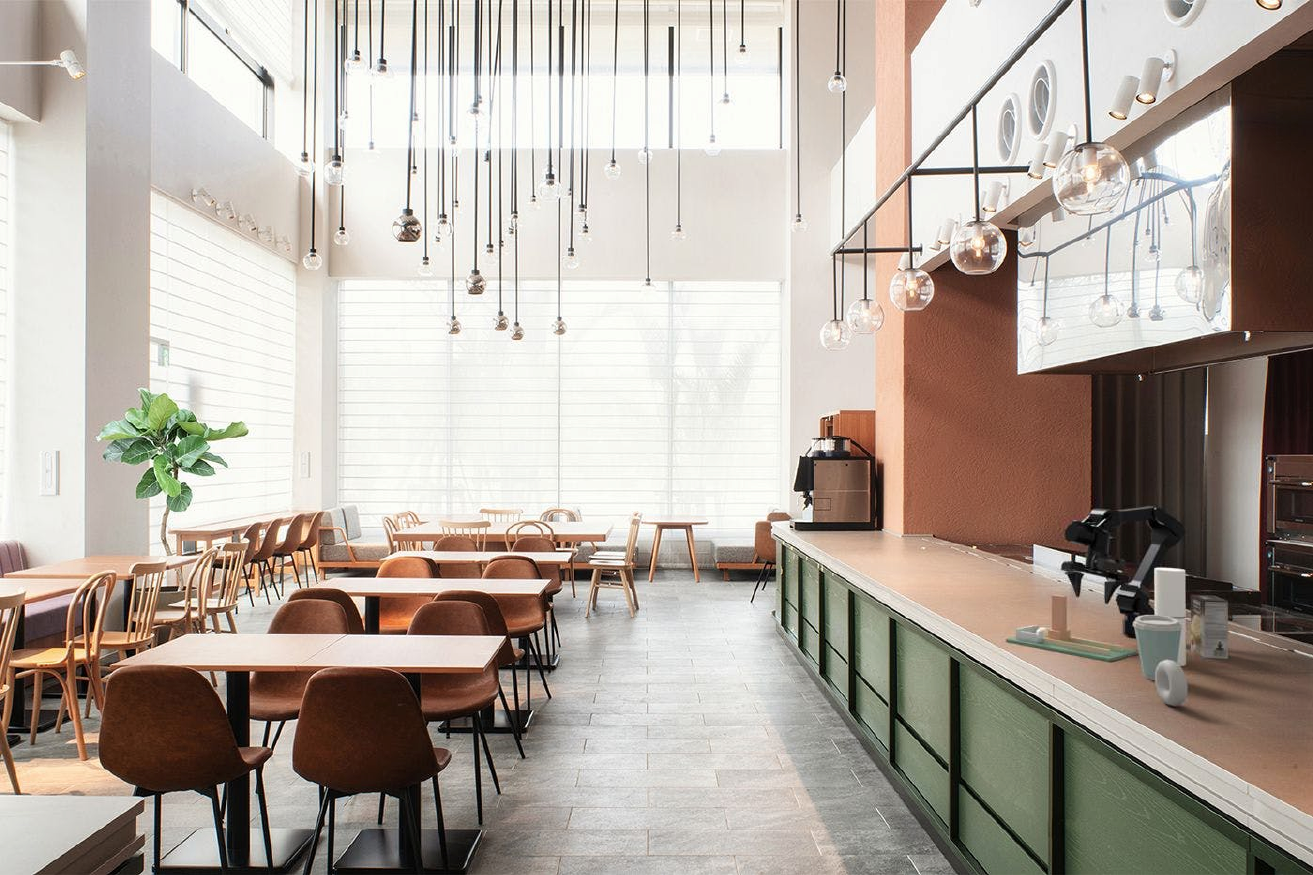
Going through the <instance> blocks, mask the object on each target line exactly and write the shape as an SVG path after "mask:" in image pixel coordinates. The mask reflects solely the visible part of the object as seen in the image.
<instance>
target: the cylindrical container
mask: <svg viewBox="0 0 1313 875" xmlns="http://www.w3.org/2000/svg"><path fill="white" fill-rule="evenodd" d="M1153 581H1154V583H1153V584H1154V610H1155V615H1159V616H1168V617H1171V618H1175V619H1176V620H1178V621H1179V624H1180V625H1182V630H1181V635H1180V643H1179V650H1178V658H1177V664H1178V665H1179V666H1180V667H1181V666H1182V667H1184V666H1187V648H1186V644H1187V642H1186V641H1187V640H1186V636H1187V632H1186V629H1187V628H1186V627H1187V626H1186V625H1187V624H1186V623H1187V622H1186V621H1187V620H1186V608H1187V607H1186V570H1185V569H1181V568H1175V567H1174V568H1173V567H1160V568H1154V580H1153Z"/></svg>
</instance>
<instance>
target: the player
mask: <svg viewBox="0 0 1313 875" xmlns="http://www.w3.org/2000/svg"><path fill="white" fill-rule="evenodd" d="M1067 602H1068V596H1067V595H1062V594H1052V595H1051V628H1050V629H1051V630H1048V638H1049V639H1055V640H1060V641H1066V642H1071V637H1072V635H1071V629H1068V618H1067V616H1068V603H1067Z"/></svg>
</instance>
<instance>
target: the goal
mask: <svg viewBox="0 0 1313 875" xmlns="http://www.w3.org/2000/svg"><path fill="white" fill-rule="evenodd" d="M1039 628H1045V629H1047V630H1051V629H1052V628H1048V627H1043V626H1039V625H1038V624H1034V625H1027V626H1022V627H1018V628H1015V637H1016V639H1018V640H1023V641H1029V642H1034V643H1038V644H1043V631H1037V630H1038V629H1039ZM1036 631H1037V634H1036Z"/></svg>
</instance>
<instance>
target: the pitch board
mask: <svg viewBox="0 0 1313 875" xmlns="http://www.w3.org/2000/svg"><path fill="white" fill-rule="evenodd" d="M1005 641H1006V643H1011V644H1016V645H1021V646H1024V647H1025V646H1027V647H1032V648H1037V649H1042V650H1045V651H1046V650H1047V651H1052V652H1056V653H1062V654H1066V653H1067V655H1072V656H1077V655H1078V656H1077V657H1082V656H1083V658H1088V659H1092V660H1098V661H1103V662H1108V663H1110V662H1113V661H1116V660H1120V659H1124V658H1127V656H1128V657H1130V656H1134V654H1135V655H1137V653H1138V651H1137V650H1133V649H1129V648H1124V646H1123V645H1120V644H1113V643H1106V642H1102V641H1097V640H1091V639H1085V638H1079V637H1073V636H1071V642H1066V641H1060V640H1055V639H1049V638H1044V637H1043V644H1038V643H1034V642H1029V641H1023V640H1018V639H1016V636H1014V637H1010V638H1006V639H1005Z"/></svg>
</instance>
